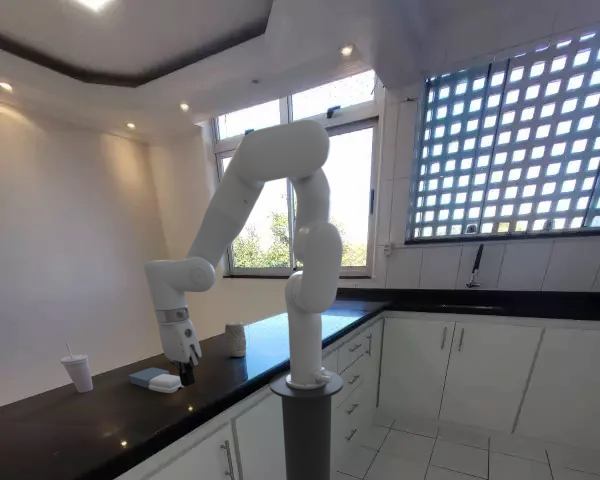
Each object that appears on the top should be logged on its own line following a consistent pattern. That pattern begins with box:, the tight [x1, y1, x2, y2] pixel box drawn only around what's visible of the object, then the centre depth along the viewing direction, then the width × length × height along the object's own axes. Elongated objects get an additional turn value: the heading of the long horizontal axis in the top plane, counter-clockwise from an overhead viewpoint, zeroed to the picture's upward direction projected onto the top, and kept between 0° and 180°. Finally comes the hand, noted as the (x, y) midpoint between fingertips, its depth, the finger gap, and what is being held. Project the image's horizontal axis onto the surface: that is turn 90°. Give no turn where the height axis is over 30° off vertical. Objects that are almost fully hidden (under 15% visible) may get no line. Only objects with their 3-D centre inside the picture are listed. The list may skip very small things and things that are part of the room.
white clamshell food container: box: [148, 374, 185, 394], centre depth 88 cm, size 9×7×3 cm
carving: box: [224, 321, 247, 358], centre depth 111 cm, size 6×8×12 cm
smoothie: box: [59, 341, 94, 394], centre depth 86 cm, size 6×6×14 cm
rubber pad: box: [128, 366, 171, 389], centre depth 93 cm, size 8×8×2 cm
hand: (188, 384), depth 83 cm, fingers closed
